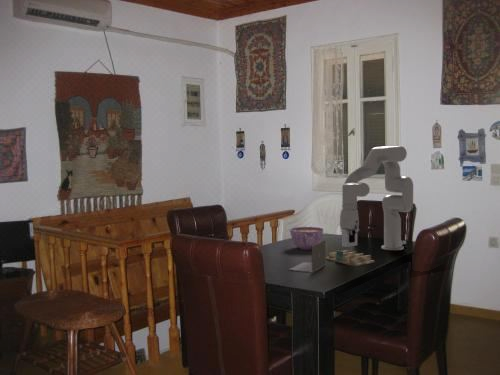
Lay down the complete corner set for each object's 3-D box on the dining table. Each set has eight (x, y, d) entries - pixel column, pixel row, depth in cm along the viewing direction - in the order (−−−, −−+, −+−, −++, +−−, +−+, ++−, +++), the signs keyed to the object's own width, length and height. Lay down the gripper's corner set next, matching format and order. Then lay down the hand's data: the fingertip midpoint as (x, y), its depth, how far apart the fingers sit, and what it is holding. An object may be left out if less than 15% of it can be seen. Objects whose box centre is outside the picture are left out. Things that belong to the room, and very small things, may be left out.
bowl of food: (313, 253, 289) (312, 233, 289) (283, 249, 302) (283, 230, 301) (329, 247, 305) (329, 228, 304) (301, 244, 317) (301, 226, 317)
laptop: (303, 263, 265) (302, 238, 264) (325, 265, 259) (325, 240, 258) (288, 270, 249) (288, 244, 248) (312, 273, 243) (312, 246, 242)
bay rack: (345, 255, 281) (345, 244, 280) (374, 262, 262) (374, 251, 262) (325, 258, 274) (325, 247, 273) (354, 266, 255) (354, 254, 254)
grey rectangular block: (342, 246, 267) (341, 229, 266) (353, 244, 271) (353, 227, 270) (345, 246, 264) (345, 229, 263) (357, 245, 268) (357, 228, 268)
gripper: (333, 206, 271) (334, 240, 272) (355, 208, 257) (355, 244, 258) (344, 205, 275) (344, 239, 276) (366, 207, 261) (366, 243, 262)
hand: (349, 241), depth 267 cm, fingers closed on grey rectangular block, 3 cm apart
